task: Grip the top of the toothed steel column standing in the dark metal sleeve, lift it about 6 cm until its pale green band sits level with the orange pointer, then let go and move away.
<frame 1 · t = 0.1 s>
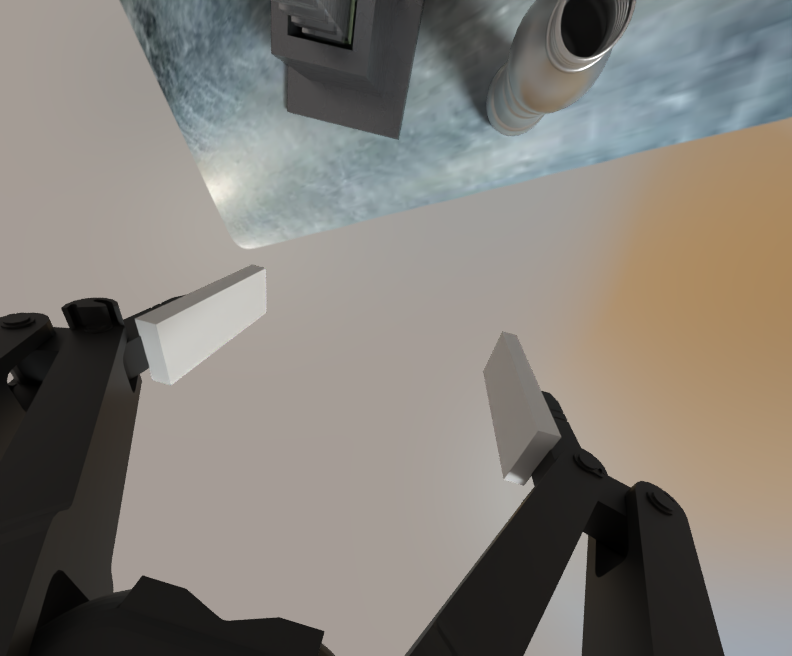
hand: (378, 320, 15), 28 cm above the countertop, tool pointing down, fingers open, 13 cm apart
stand: (353, 39, 31), on the countertop
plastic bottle: (513, 103, 32), on the countertop
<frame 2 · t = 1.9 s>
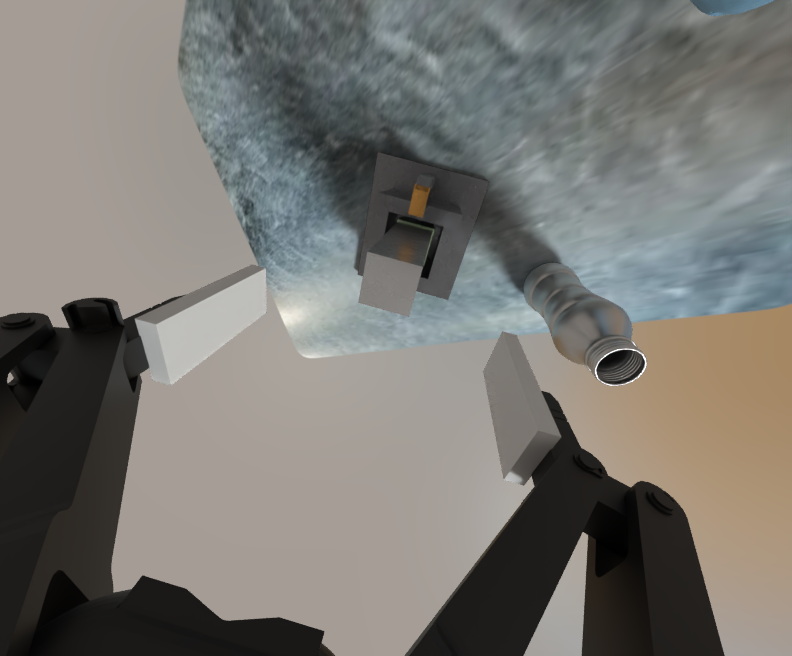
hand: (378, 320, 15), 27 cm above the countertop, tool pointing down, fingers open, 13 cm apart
stand: (417, 232, 39), on the countertop
column: (406, 253, 29), point 11 cm above the countertop, slide at 0.0 cm
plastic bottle: (544, 281, 39), on the countertop
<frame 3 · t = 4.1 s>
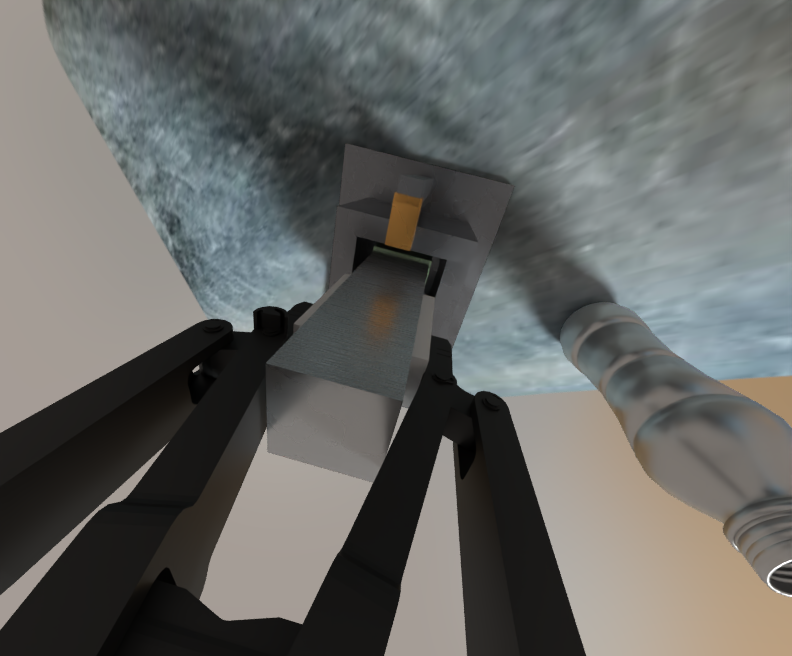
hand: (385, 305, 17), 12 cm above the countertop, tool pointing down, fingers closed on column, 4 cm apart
stand: (407, 257, 27), on the countertop
column: (385, 306, 18), point 11 cm above the countertop, slide at 0.0 cm, touching gripper
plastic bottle: (588, 325, 28), on the countertop
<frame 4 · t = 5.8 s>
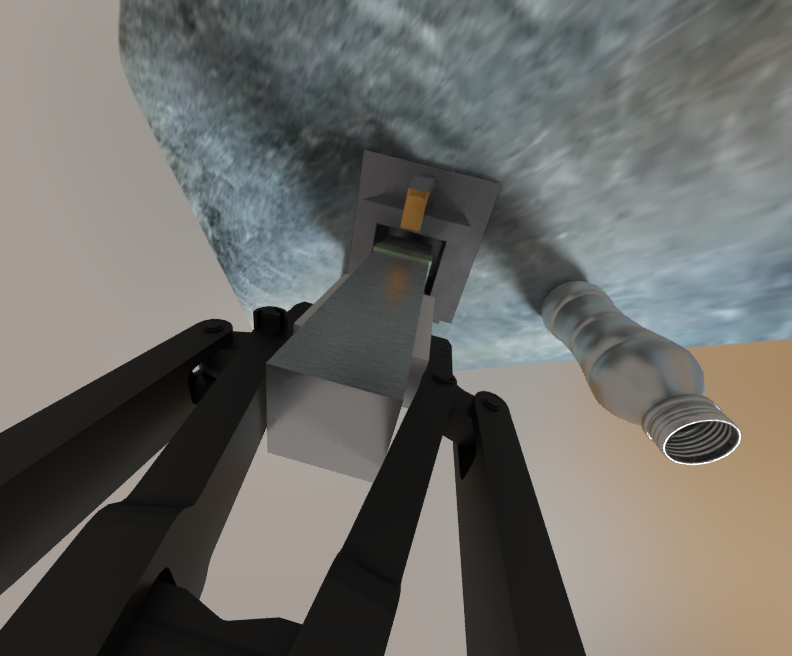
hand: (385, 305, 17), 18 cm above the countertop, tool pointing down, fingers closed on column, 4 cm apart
stand: (413, 244, 33), on the countertop
column: (385, 306, 18), point 17 cm above the countertop, slide at 6.0 cm, touching gripper
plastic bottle: (565, 301, 33), on the countertop
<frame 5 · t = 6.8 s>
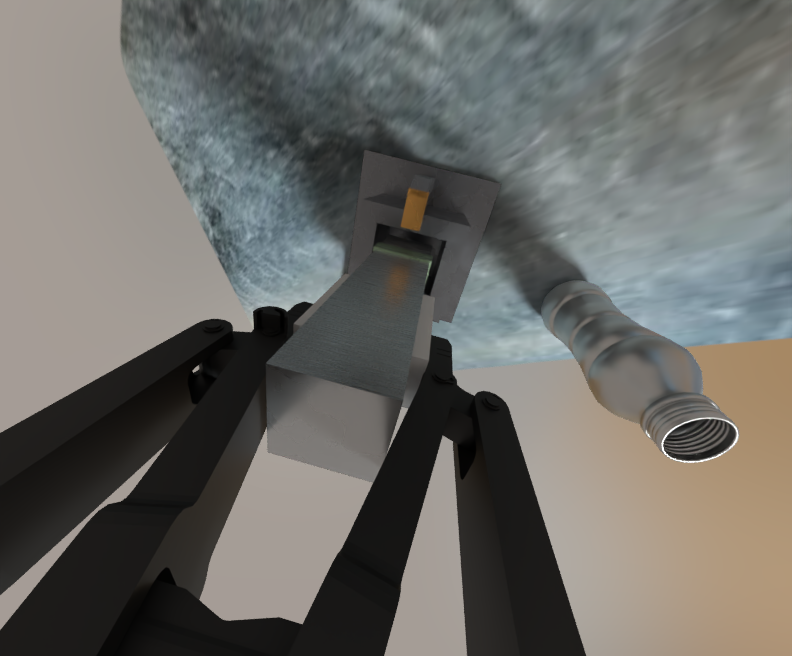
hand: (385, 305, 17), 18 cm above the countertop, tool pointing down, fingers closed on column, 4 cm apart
stand: (413, 244, 33), on the countertop
column: (385, 306, 18), point 17 cm above the countertop, slide at 6.1 cm, touching gripper
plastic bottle: (565, 301, 33), on the countertop
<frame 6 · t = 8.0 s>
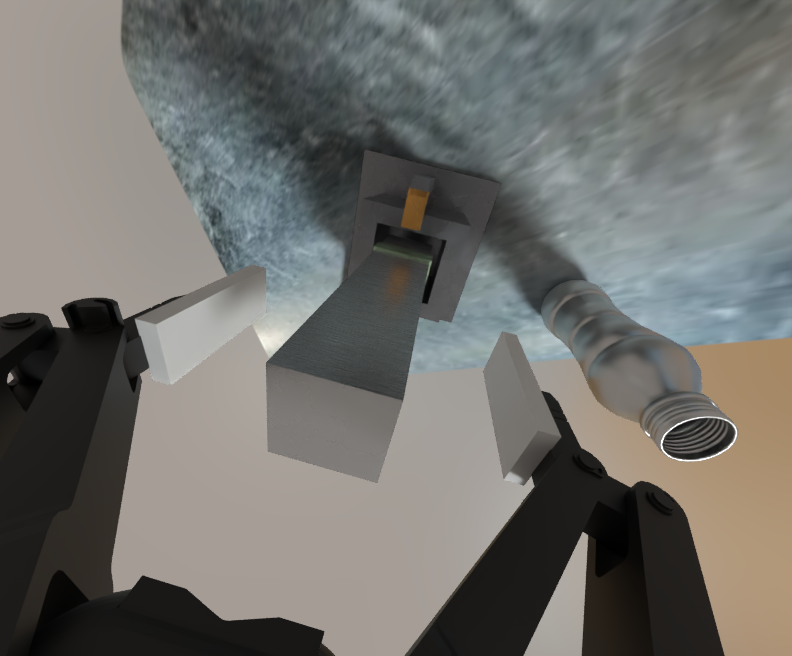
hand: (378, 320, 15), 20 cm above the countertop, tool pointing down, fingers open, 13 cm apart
stand: (413, 244, 33), on the countertop
column: (385, 306, 18), point 17 cm above the countertop, slide at 6.2 cm
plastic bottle: (565, 300, 33), on the countertop
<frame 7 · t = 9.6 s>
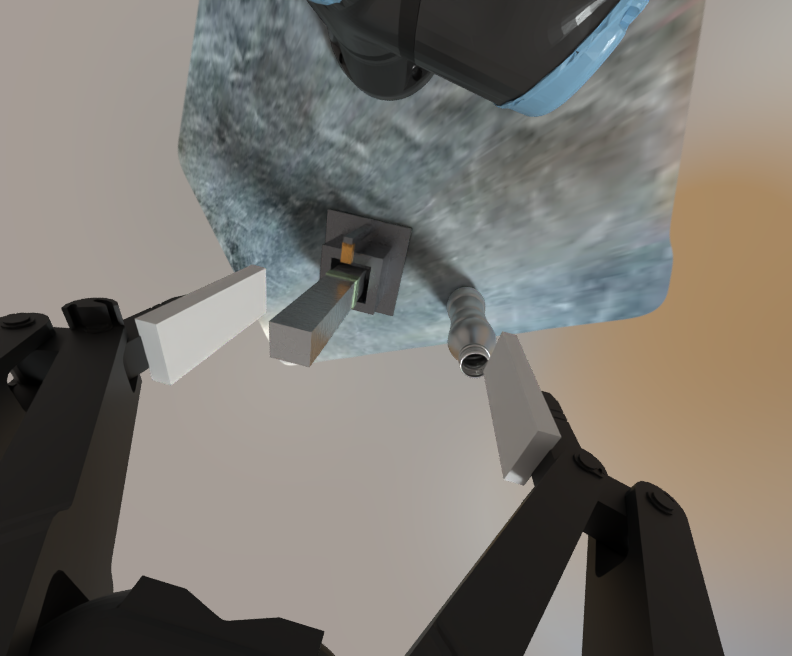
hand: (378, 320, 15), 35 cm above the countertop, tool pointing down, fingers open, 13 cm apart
stand: (364, 265, 50), on the countertop
column: (328, 304, 35), point 17 cm above the countertop, slide at 6.2 cm
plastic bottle: (464, 300, 51), on the countertop
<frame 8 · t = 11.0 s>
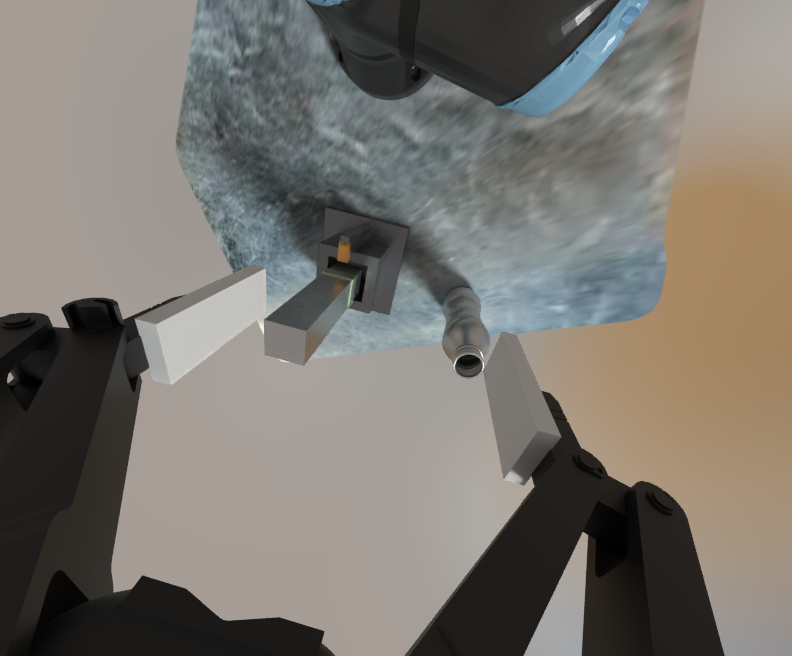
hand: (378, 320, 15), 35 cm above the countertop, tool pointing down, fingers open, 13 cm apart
stand: (361, 263, 50), on the countertop
column: (324, 303, 35), point 17 cm above the countertop, slide at 6.2 cm
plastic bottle: (460, 300, 51), on the countertop
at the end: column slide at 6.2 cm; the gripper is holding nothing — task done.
